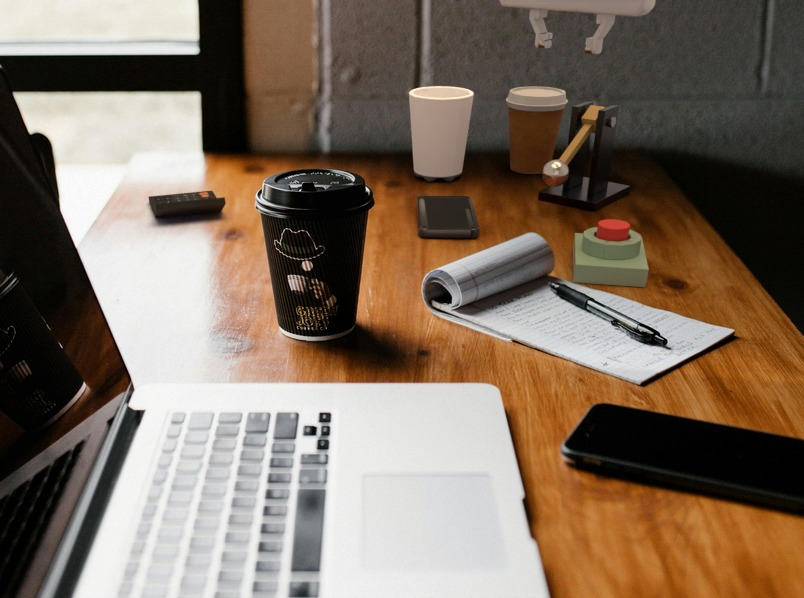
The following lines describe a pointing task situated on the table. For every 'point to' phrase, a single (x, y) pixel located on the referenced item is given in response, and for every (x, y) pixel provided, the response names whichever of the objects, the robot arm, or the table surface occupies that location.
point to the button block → (609, 260)
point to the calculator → (186, 203)
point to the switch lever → (570, 150)
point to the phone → (446, 217)
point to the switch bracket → (596, 187)
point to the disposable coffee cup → (534, 126)
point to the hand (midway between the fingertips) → (567, 50)
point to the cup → (439, 130)
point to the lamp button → (613, 230)
